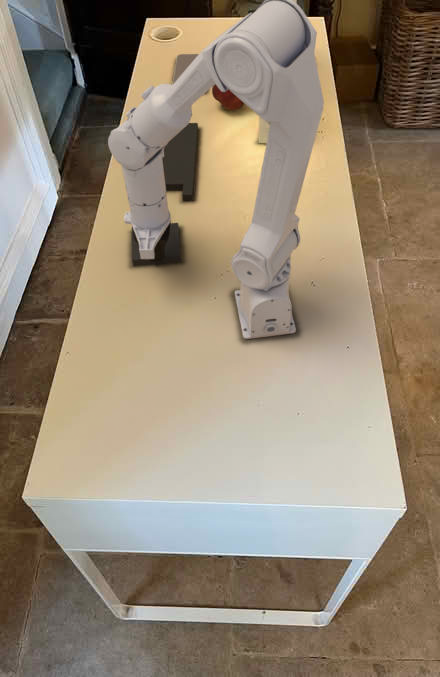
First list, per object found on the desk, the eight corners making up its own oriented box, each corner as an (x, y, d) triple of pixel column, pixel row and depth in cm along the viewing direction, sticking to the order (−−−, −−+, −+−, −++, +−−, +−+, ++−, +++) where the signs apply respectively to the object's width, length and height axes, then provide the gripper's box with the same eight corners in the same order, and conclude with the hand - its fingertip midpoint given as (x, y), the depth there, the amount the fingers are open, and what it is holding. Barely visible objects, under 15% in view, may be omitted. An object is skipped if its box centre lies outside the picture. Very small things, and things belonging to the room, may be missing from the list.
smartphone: (209, 53, 138) (205, 89, 129) (209, 57, 139) (205, 93, 130) (176, 54, 138) (171, 89, 129) (177, 57, 139) (171, 93, 130)
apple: (250, 117, 124) (250, 81, 118) (212, 118, 124) (210, 81, 118) (249, 97, 129) (249, 61, 122) (213, 98, 129) (211, 61, 122)
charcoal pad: (181, 262, 100) (180, 255, 99) (133, 266, 100) (131, 260, 99) (177, 217, 107) (177, 211, 105) (132, 221, 106) (131, 215, 105)
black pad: (192, 201, 109) (192, 194, 108) (137, 201, 110) (136, 195, 108) (198, 129, 122) (197, 122, 121) (149, 129, 123) (148, 123, 121)
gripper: (125, 162, 93) (137, 228, 104) (113, 227, 84) (127, 291, 95) (170, 162, 93) (178, 228, 103) (163, 227, 84) (172, 291, 95)
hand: (156, 258), depth 99 cm, fingers closed, pressing on charcoal pad
